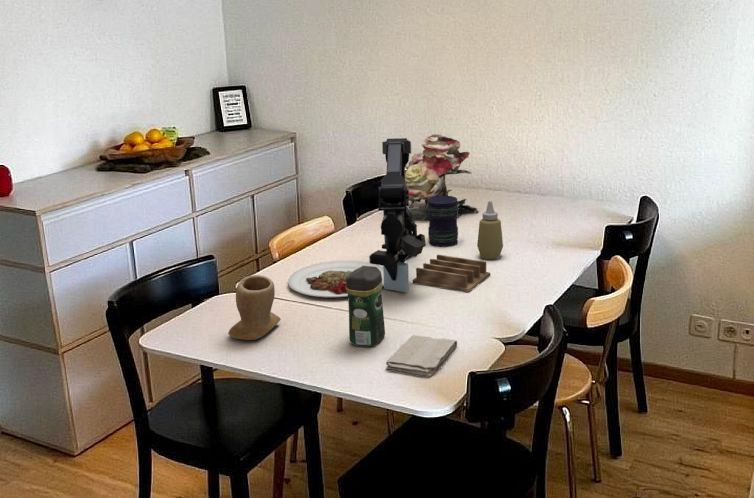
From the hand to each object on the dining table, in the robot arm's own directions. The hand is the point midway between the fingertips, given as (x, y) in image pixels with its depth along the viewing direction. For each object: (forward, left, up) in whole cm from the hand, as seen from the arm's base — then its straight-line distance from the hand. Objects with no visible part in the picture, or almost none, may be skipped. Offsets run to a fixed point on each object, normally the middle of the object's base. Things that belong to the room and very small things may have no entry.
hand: (396, 279), depth 239 cm
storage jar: (-8, +45, -4) cm, 46 cm away
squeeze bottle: (+12, +38, -4) cm, 40 cm away
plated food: (-19, -1, -4) cm, 19 cm away
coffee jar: (+10, -32, -4) cm, 34 cm away
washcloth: (+27, -35, -4) cm, 45 cm away
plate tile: (0, 0, -3) cm, 3 cm away
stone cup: (-18, -40, -4) cm, 44 cm away
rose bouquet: (-27, +74, -4) cm, 79 cm away
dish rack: (+10, +15, -4) cm, 18 cm away
